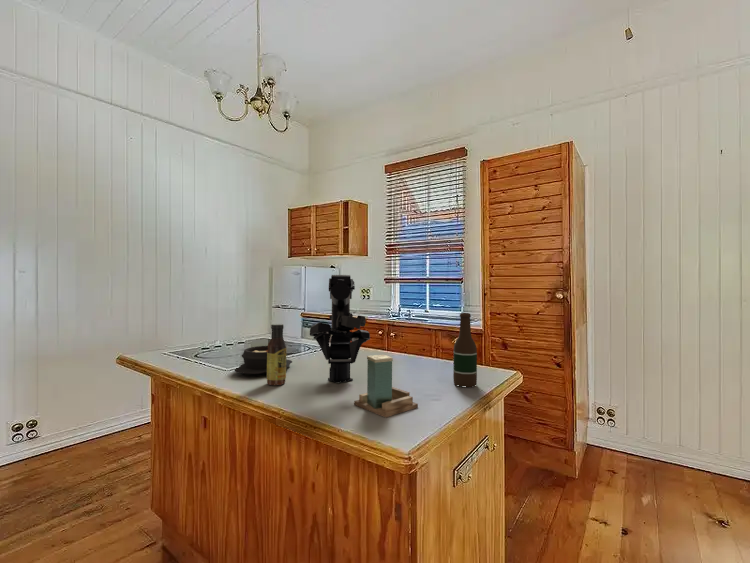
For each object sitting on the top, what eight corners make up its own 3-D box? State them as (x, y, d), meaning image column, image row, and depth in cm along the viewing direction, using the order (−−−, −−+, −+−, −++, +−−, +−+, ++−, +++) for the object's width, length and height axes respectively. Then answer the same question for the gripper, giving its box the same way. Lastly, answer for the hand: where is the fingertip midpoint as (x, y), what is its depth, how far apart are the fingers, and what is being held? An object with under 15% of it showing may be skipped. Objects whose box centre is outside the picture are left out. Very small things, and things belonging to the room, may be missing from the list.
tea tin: (366, 403, 105) (367, 356, 105) (383, 400, 107) (384, 354, 107) (374, 409, 100) (375, 359, 100) (392, 406, 102) (392, 358, 102)
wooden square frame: (385, 396, 114) (386, 384, 114) (417, 407, 104) (417, 394, 104) (354, 404, 106) (354, 392, 106) (385, 417, 97) (385, 403, 97)
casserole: (264, 381, 131) (264, 356, 131) (221, 375, 137) (221, 352, 137) (303, 366, 154) (303, 345, 154) (265, 362, 161) (265, 342, 161)
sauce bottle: (280, 387, 123) (281, 325, 123) (263, 385, 125) (263, 325, 125) (289, 381, 130) (289, 323, 130) (272, 380, 131) (272, 323, 131)
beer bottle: (478, 383, 129) (479, 312, 129) (474, 389, 122) (474, 314, 122) (456, 380, 133) (456, 311, 133) (450, 386, 126) (450, 313, 126)
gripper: (328, 298, 109) (327, 352, 103) (379, 309, 119) (381, 359, 113) (309, 309, 117) (307, 360, 111) (359, 319, 127) (360, 365, 121)
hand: (340, 361), depth 114 cm, fingers open, 9 cm apart
